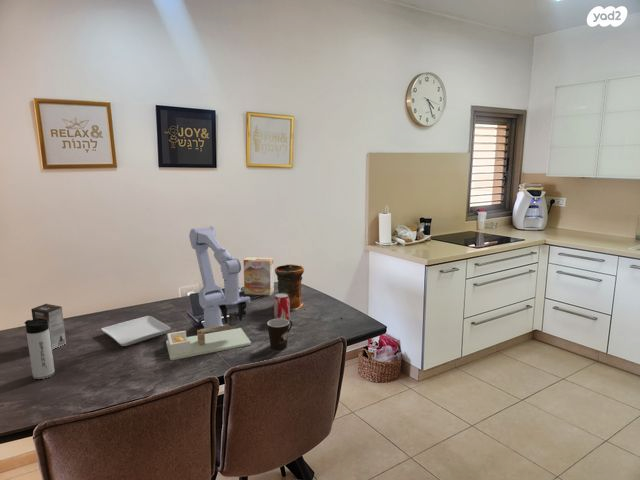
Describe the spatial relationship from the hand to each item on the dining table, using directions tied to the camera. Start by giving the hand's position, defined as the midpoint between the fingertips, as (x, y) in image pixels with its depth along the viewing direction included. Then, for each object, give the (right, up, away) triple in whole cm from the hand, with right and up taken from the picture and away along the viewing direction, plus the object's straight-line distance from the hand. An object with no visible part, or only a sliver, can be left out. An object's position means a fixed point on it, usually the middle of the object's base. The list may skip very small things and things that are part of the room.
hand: (233, 321), depth 169 cm
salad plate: (-42, -7, +6) cm, 43 cm away
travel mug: (-59, -14, -27) cm, 67 cm away
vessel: (+20, 0, +40) cm, 45 cm away
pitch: (-9, -9, -3) cm, 13 cm away
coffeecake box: (+2, +4, +60) cm, 60 cm away
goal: (-19, -9, -8) cm, 23 cm away
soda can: (+18, -4, +22) cm, 28 cm away
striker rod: (-6, -7, -1) cm, 9 cm away
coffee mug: (+20, -9, -4) cm, 23 cm away
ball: (-20, -7, -8) cm, 22 cm away
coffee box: (-71, -9, -4) cm, 72 cm away
